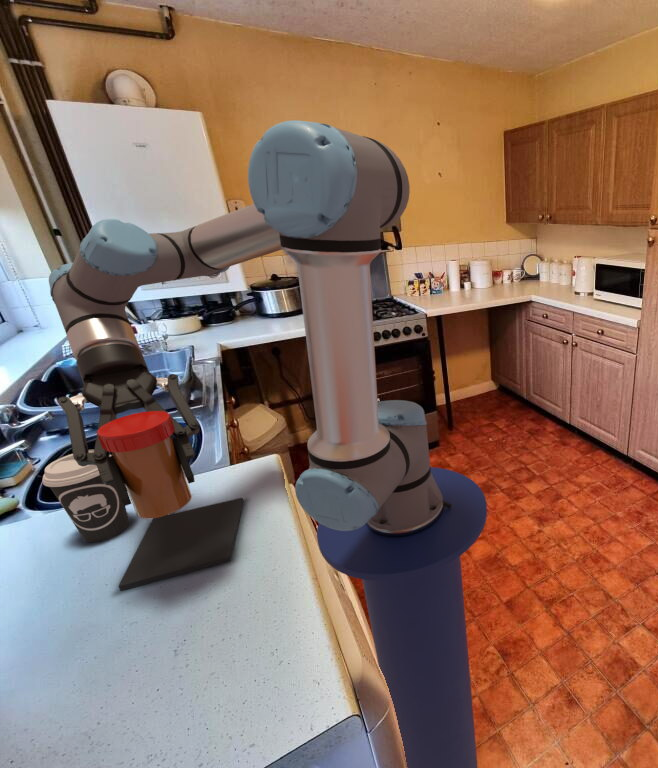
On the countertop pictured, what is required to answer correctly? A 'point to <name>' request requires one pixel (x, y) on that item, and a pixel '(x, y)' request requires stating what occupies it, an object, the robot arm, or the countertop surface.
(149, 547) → the mat
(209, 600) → the countertop surface
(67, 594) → the countertop surface
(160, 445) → the jar
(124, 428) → the lid
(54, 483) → the coffee cup
